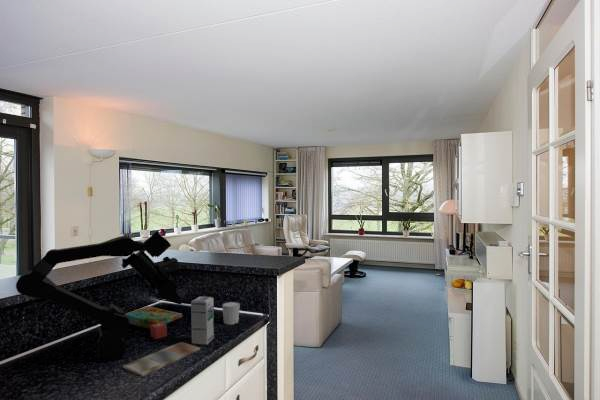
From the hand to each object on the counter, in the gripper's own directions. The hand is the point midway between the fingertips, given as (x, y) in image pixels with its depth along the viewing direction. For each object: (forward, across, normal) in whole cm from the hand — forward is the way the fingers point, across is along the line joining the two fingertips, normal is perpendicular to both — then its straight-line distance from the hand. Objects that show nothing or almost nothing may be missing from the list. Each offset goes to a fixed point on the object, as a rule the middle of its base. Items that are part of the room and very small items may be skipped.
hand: (177, 300), depth 123 cm
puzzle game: (+9, +24, +12) cm, 29 cm away
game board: (+7, -10, +14) cm, 19 cm away
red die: (+8, +10, +12) cm, 18 cm away
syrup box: (+16, -3, +4) cm, 17 cm away
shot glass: (+26, +10, -8) cm, 29 cm away
